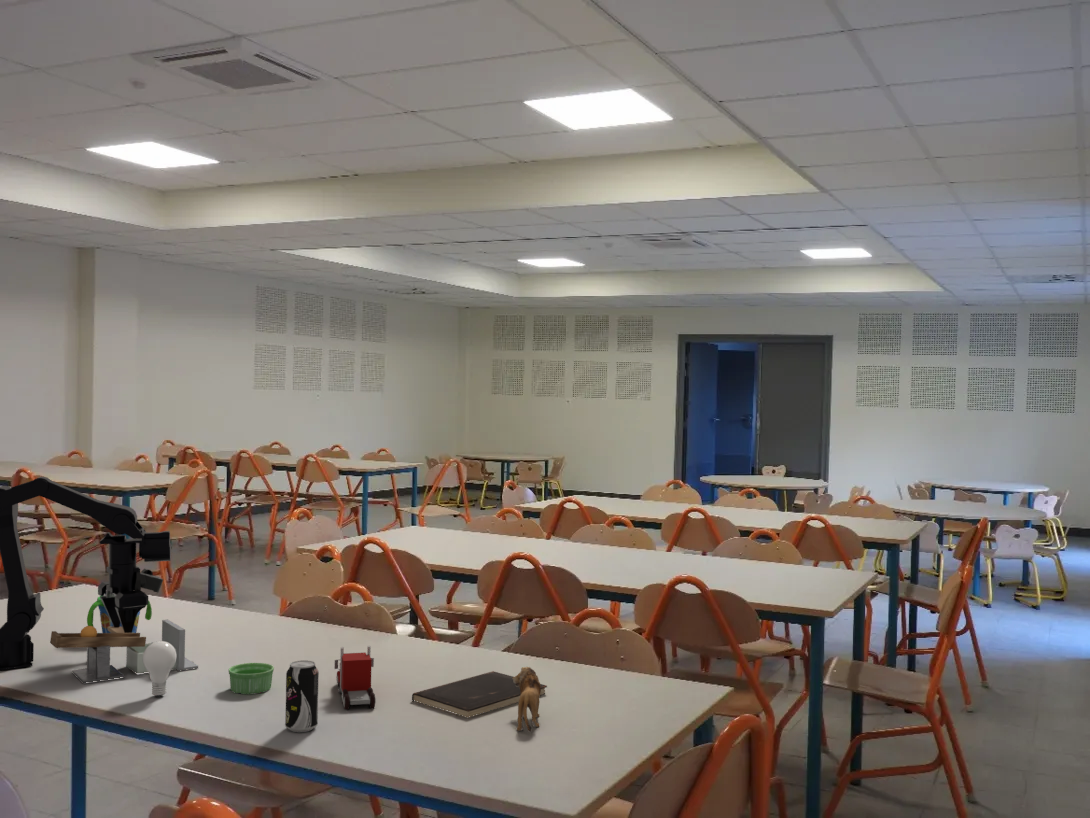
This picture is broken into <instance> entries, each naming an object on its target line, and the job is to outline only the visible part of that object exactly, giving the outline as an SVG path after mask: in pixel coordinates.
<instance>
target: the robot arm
mask: <svg viewBox="0 0 1090 818" xmlns="http://www.w3.org/2000/svg"><path fill="white" fill-rule="evenodd" d="M36 497H41V498H45V499H47V500H49V501H51V502H55V503H57V504H58V505H61V506H64V507H66V508H69V509H71V510H73V511H76V512H77V513H78V512H79V513H81V514H83V515H86V516H88V517H90V518H92V519H93V520H95V521H96V522H97V523H98V524H100V525H101V526H103V527H105V529H108V530H109V531H111V532H113V533H114V534H115V535H113V534H112V533H111V532H106V535H105V536H104V537H103V538H101V539H100V541H99V545H108V566H106V573H108V581H101V582H100V584H99V585H97V594H98V595H99V597H100V596H101V597H100V599H101V601H102V603H103V605H104V607H105V609H106V611H107V613H108V615H109V617H110V620H111V622H112V624H113V626H114V627H120V622H121V625H122V628H123V630H124V633H132V630H133V627H134V623H135V620H136V617H137V614H138V612H139V611H140V612H141V610H143V609H145V608H147V605H148V600H149V595H148V594H147V593H145V592H144V591H142V589H145V590H149V591H153V593H160V590H161V586H162V584H163V581H164V579H163V578H161V577H160V576H156V575H154V574H153V573H154V572H153V570H151V569H148V568H143V569H142V570H141V568H140V567H138V566H137V544H138V557H139V558H141V559H142V560H143V561H144V563H148V562H149V563H150V562H153V563H154V562H171V560H172V543H171V531H170V530H163V531H160V532H159V531H155V532H154V531H153V532H151V531H148V532H147V531H146V530H145V528H144V527H143V526H142V525H141V523H140V522H139V521H138V515H137V512H136V510H134V508H132V507H130V506H127V505H124V504H118V503H115V502H108V501H103V500H99V499H97V498H94V497H91V496H89V495H87V494H85V493H82V492H80V491H77V490H75V489H73V488H70V487H67V486H65V485H63V484H61V483H59V482H56V481H53V480H52V479H50V478H49V477H47V476H39V477H37V478H35V479H33V480H29V481H26V482H24V483H21V484H18V485H14V486H11V487H10V486H7V485H0V558H1V563H2V568H3V572H4V577H5V582H6V587H7V593H8V594H7V603H6V622H4V624H3V625H1V627H0V671H5V670H12V669H19V668H26V667H27V668H28V667H32V666H33V662H34V649H35V648H34V643H33V641H32V636H31V635H30V634H29V632H30V631H31V630H33V629H34V628H35V626H36V625H37V623H39V620H40V619H41V618H42V612H43V611H44V607H43V605H42V602H41V592H40V591H38V592H37V593H34V592H33V591H32V589H31V587H30V585H29V581H28V575H27V569H26V565H25V559H24V555H23V549H22V545H21V540H20V536H19V534H20V533H19V531H18V516H19V504H20V503H23V502H27V501H29V500H31V499H34V498H36ZM127 536H128V537H129V538H127Z"/></svg>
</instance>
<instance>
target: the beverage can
mask: <svg viewBox="0 0 1090 818" xmlns="http://www.w3.org/2000/svg"><path fill="white" fill-rule="evenodd" d="M319 674H320V673H319V670H318V668H317V667H316V662H315V661H314V660H296V661H292V662H290V663H289V668H288V669H287V671H286V673H285V677H286V678H285V716H284V717H285V721H284V722H285V724H284V725H285V727H286V729H288V730H289V731H291V732H292V733H293V732H294V733H305V732H310V731H312V730H314V729H315V728H316V727H317V726H318V721H319V720H318V719H319V715H318V714H319Z"/></svg>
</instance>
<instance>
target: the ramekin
mask: <svg viewBox="0 0 1090 818" xmlns="http://www.w3.org/2000/svg"><path fill="white" fill-rule="evenodd" d="M274 670H275V667H274V665H272V664H270V663H263V662H247V663H245V662H244V663H239V664H235V665H233V666H231V667H229V668H228V675H229V683H230V691H231V692H232V691H233V692H232V693H234V692H235V694H238V693H241V694H240V695H255V694H254V693H257V694H261V693H260V692H262V693H265V692H267V690H268V691H270V690H271V688H272V683H273V672H274Z"/></svg>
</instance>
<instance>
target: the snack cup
mask: <svg viewBox="0 0 1090 818" xmlns="http://www.w3.org/2000/svg"><path fill="white" fill-rule="evenodd" d="M100 597H101V596H100V595H99V596H97V599H96V601H95V602H93V603H92V604H91V606H90V608H89V609H88V612H87V616H86V617H87V618H86V624H87V625H86V626H93V627H95V626H94V614H95V613H94V611H95V610H96V608H97V607H98V611H99V618H100V625H101V633H111V632H109V631H108V630H107V629H108V627H114V626H113V624H112V622H111V620H110V617H109V615H108V613H107V611H106V609H105V607H104V605H103V603H102V601H101V599H100ZM151 604H152V603H151V602H150V600H149V599H148V605H146V610H145V614H144V619H145V620H146V621H150V620H151V619H152V615H153V612H152V610H153V609H152V605H151ZM140 614H141V610H140V611H139V612H138V614H137V617H136V620H135V623H134V627H133V630H132V633H138V632H137V631H138V625H139V621H140ZM120 627H122V625H121V622H120Z"/></svg>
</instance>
